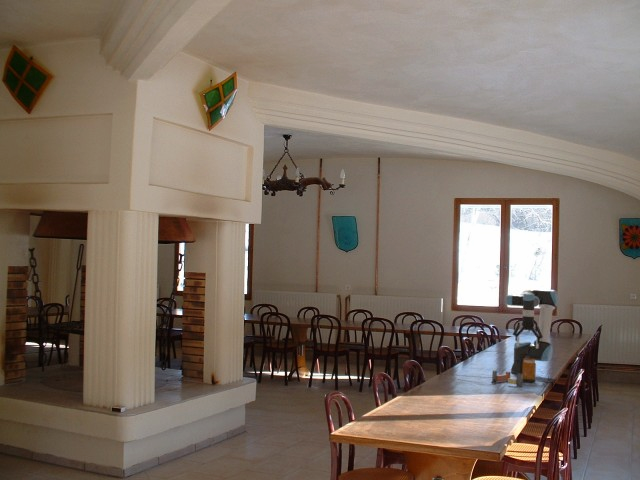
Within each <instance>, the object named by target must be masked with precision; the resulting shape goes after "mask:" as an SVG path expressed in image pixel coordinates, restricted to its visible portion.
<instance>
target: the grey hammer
mask: <svg viewBox="0 0 640 480" xmlns="http://www.w3.org/2000/svg"><path fill="white" fill-rule="evenodd" d="M523 382H524V381H523V374H516V378H511V377H510V378H508V381H507V383H508V384H511V385H515V387H519V388H522V387H523Z"/></svg>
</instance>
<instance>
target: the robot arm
mask: <svg viewBox="0 0 640 480" xmlns="http://www.w3.org/2000/svg"><path fill="white" fill-rule="evenodd" d="M505 303H506V305H507V306H511V307H512V306H513V307H516V306H517V307H522V319H521V320H522V322H521V321H520V322H519V321H518V322H517V326H516V327H515V329H514V332H513V333H512V336H515V343H514V345H513V363H512V366H511V369H510V372H511V373H510V374H514V375H517V374H519V373H520V356H519V355H521V354H523V353H524V352H526V353H533V354H535V356H533V357H532V358H533V359H535V362H545V363H546V362H550V360H551V358H552V357H553V353H554V351H553V349H554V347H553V346H552V344H551V343H550V335H551V334H550V333H551V326H552V320H553V319H552V318H553V312H554V310H555V309H556V307H557V306H558V305H559V295H558V292H557V290H555V289H544V288H531V289H527V290H524V291H522V292H521V293H517V294H507V295H506V297H505ZM537 306H538V308H539V316H538V323H534V322H535V308H536V307H537ZM521 326H522V327H521ZM535 329H536V330H535ZM525 330H528V331H531V332H532V333H533V334H534V336H535V337H536V339H535V340H534V341H533V343H532V342H531V341H520V335H521V334H522V333H523V332H524V331H525ZM523 356H524V355H523ZM523 356H521V357H523ZM522 363H523V359H522Z"/></svg>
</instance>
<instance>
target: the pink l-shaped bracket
mask: <svg viewBox="0 0 640 480" xmlns="http://www.w3.org/2000/svg"><path fill="white" fill-rule="evenodd" d="M511 374H512V373H511V371H505V374H497V383H500V382H508V378H510V379H511Z"/></svg>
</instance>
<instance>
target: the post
mask: <svg viewBox="0 0 640 480" xmlns="http://www.w3.org/2000/svg"><path fill="white" fill-rule="evenodd" d="M497 373H498V371H497V370H492V375H491V376H492V379H491V380H492V381H491V382H490V383H492V384H498V382H497V375H498V374H497Z"/></svg>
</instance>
